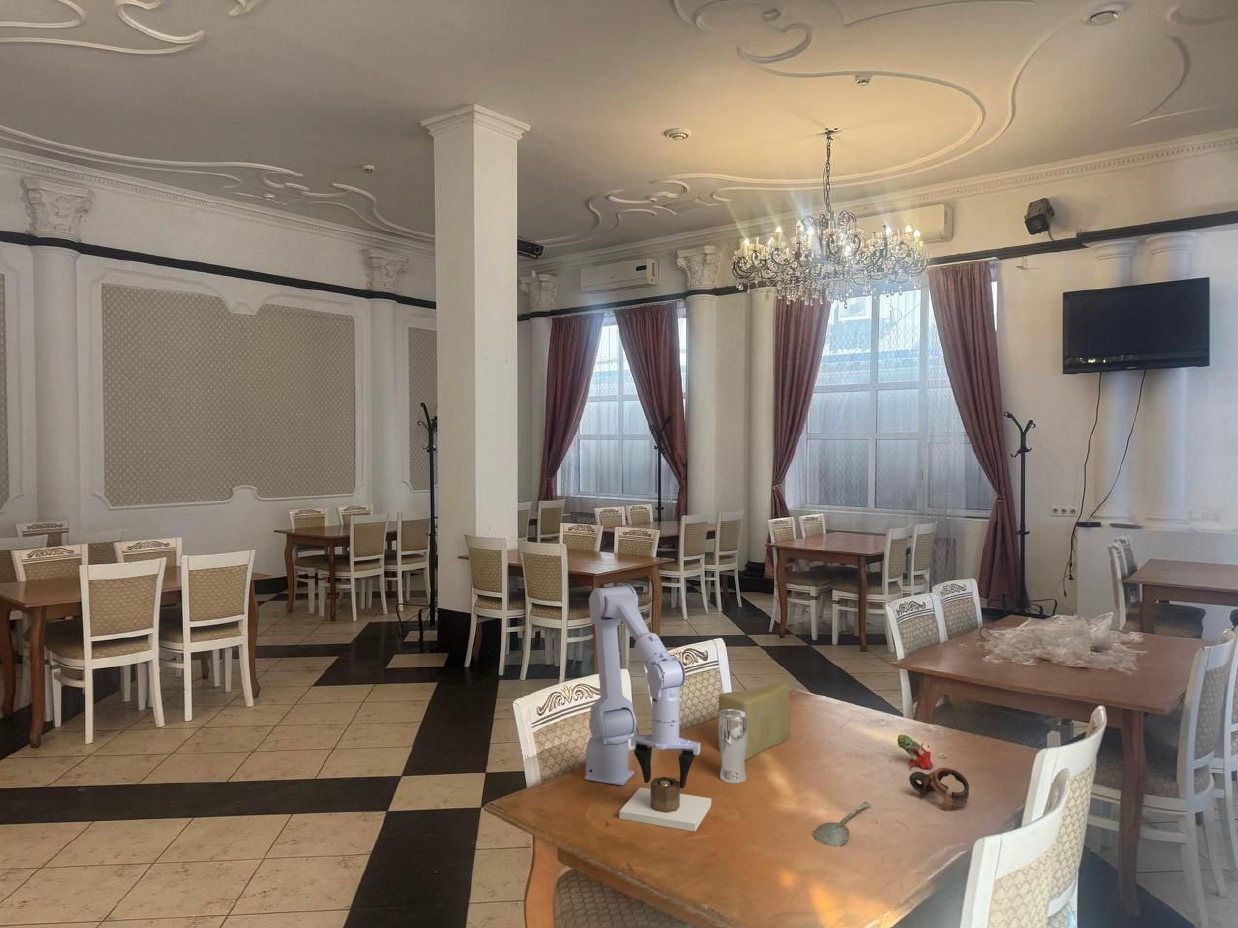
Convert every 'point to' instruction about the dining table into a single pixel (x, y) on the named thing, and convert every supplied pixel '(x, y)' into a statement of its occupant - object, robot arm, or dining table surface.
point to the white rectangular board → (683, 818)
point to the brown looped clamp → (940, 786)
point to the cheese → (762, 715)
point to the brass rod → (665, 783)
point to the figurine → (915, 752)
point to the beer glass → (733, 744)
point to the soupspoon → (836, 830)
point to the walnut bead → (665, 795)
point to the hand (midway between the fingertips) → (665, 783)
